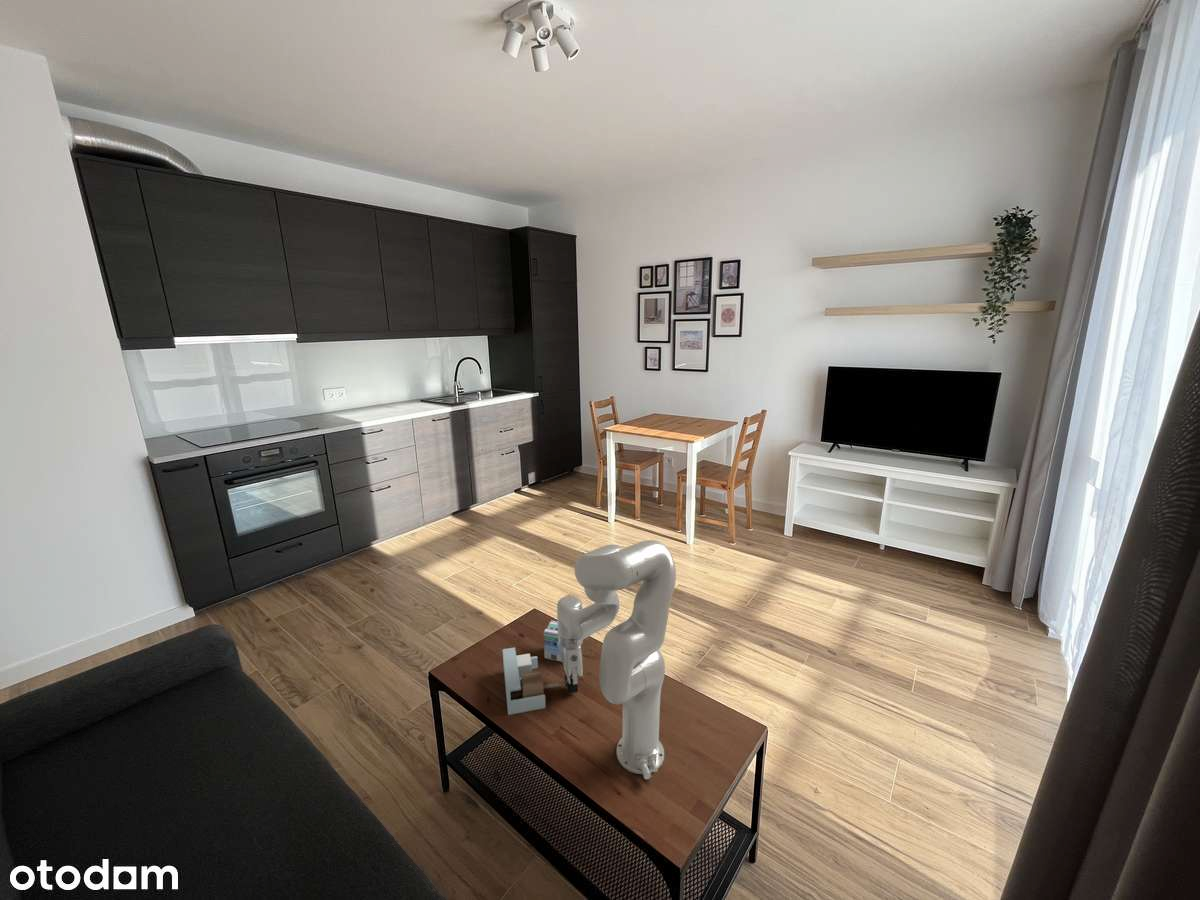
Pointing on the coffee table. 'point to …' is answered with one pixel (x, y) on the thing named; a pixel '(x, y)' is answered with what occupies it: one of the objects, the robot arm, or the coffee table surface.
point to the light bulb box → (552, 642)
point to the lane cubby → (518, 685)
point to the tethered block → (536, 684)
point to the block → (524, 664)
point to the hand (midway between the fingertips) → (571, 688)
